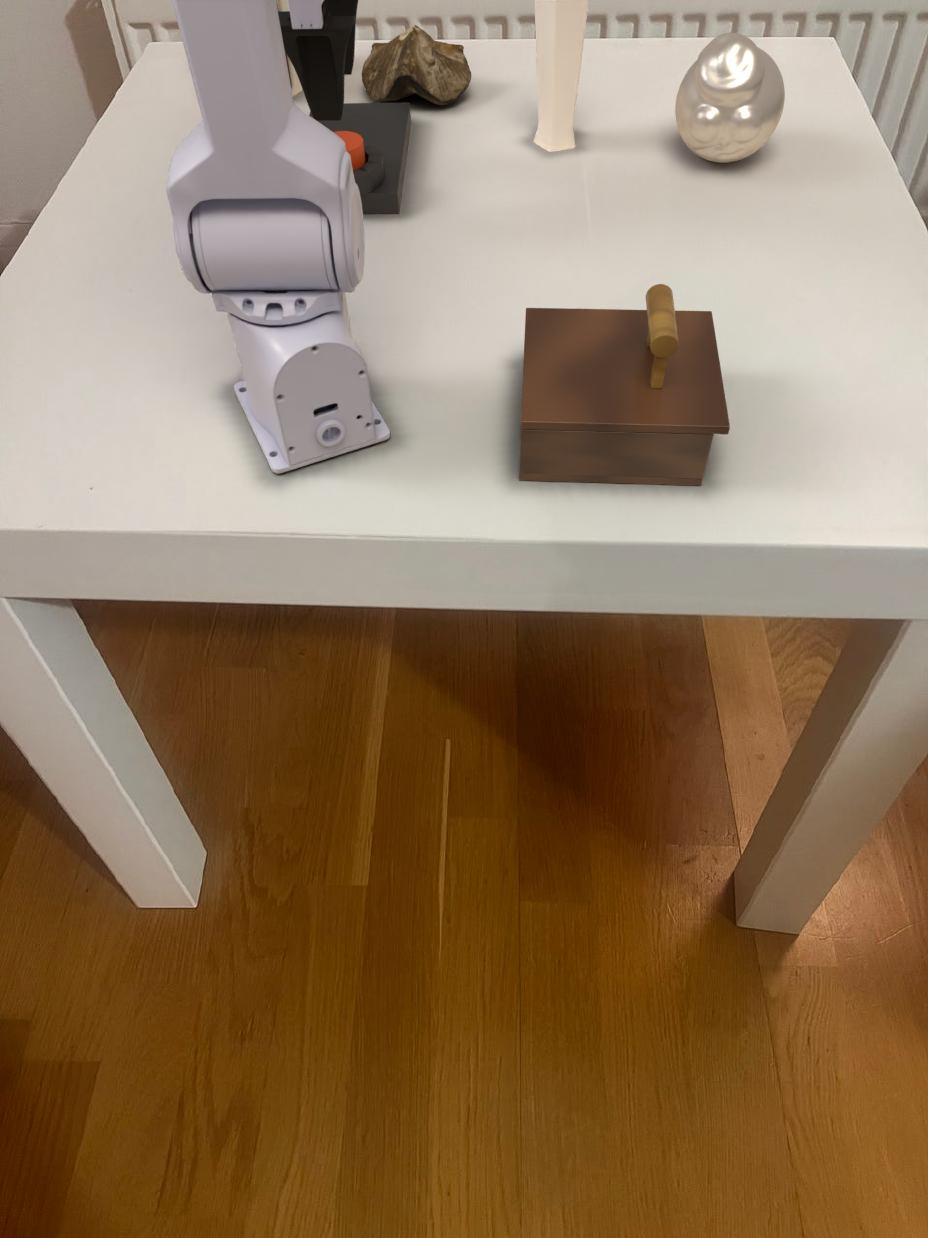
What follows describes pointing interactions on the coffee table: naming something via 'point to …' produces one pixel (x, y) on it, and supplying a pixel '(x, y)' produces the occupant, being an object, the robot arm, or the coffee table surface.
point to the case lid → (623, 369)
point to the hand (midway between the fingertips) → (333, 94)
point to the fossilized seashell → (416, 69)
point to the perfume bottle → (558, 69)
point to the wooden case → (613, 456)
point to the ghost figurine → (729, 100)
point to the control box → (378, 151)
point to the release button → (353, 147)
